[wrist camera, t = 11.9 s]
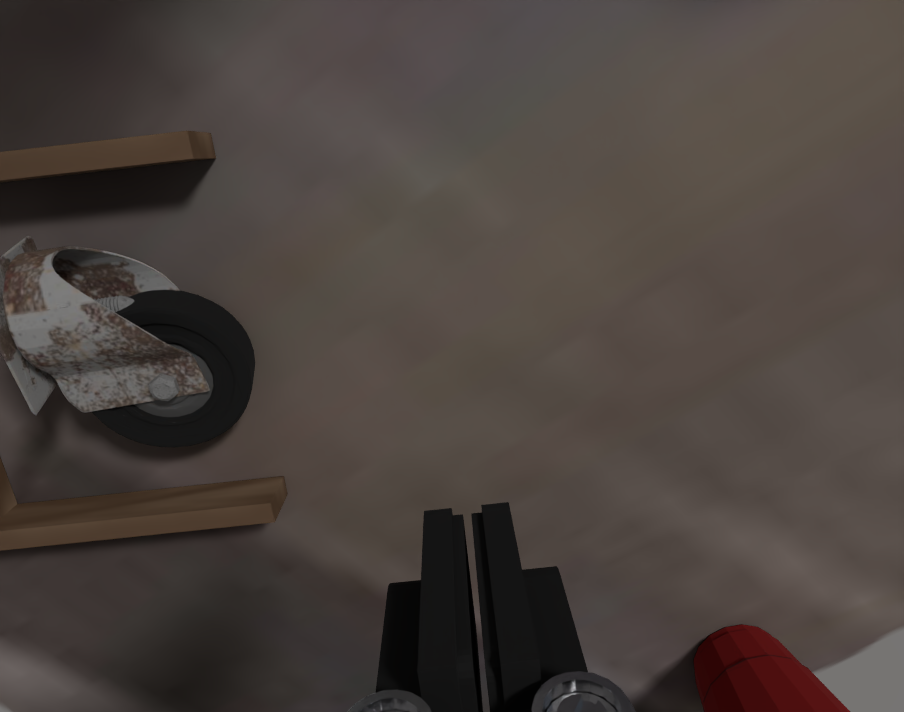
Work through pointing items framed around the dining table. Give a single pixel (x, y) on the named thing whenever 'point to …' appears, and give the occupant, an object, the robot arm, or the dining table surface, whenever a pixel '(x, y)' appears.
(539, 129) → the dining table surface
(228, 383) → the caster wheel
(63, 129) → the dining table surface
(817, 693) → the plastic cup
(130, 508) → the walnut bay
